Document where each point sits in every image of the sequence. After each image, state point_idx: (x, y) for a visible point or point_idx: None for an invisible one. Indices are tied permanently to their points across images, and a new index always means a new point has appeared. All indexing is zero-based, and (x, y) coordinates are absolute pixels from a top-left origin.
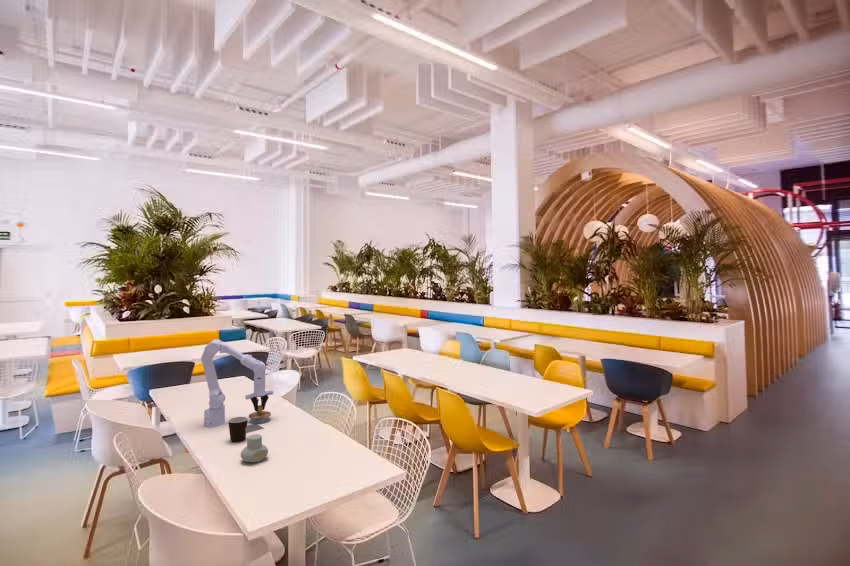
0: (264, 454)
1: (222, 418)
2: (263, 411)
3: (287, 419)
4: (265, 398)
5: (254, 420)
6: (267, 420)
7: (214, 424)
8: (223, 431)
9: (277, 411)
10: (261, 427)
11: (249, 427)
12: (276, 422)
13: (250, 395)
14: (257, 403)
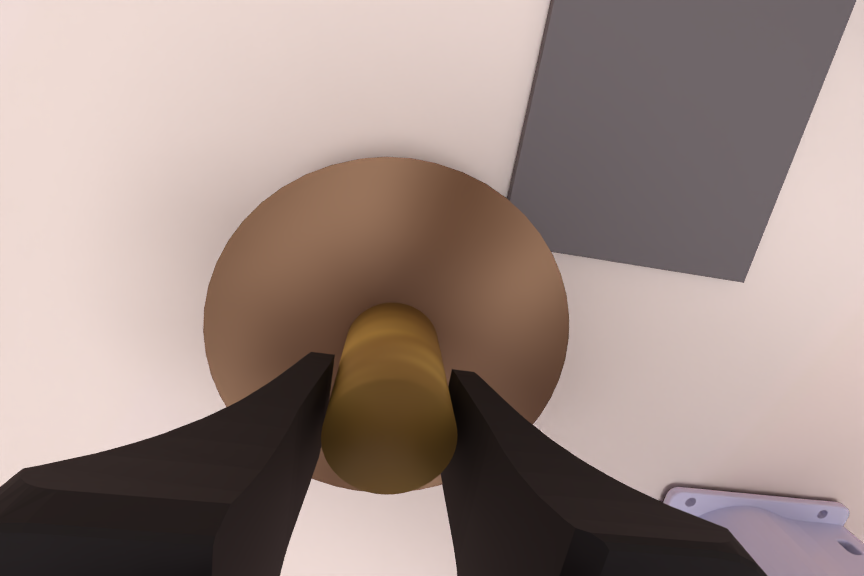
0: None
1: (769, 563)
2: None
3: (35, 30)
4: (200, 494)
5: None
6: None
7: (801, 530)
8: (853, 325)
9: (3, 467)
10: (567, 15)
11: (653, 172)
12: (255, 60)
13: None
14: (525, 457)
